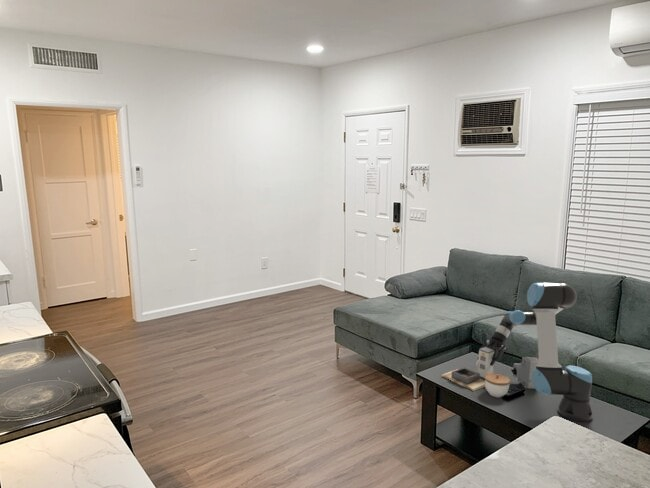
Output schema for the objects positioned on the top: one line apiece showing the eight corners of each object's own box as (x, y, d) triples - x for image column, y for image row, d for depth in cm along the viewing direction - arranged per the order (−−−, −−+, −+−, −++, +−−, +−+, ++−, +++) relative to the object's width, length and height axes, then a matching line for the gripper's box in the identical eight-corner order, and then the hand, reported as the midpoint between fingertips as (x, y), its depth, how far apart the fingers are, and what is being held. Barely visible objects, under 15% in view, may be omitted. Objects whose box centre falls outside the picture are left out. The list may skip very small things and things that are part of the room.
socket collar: (479, 379, 264) (479, 373, 263) (467, 384, 257) (467, 378, 257) (463, 372, 272) (464, 367, 272) (451, 377, 266) (451, 371, 266)
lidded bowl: (514, 398, 245) (515, 378, 244) (493, 401, 241) (495, 381, 240) (498, 387, 257) (499, 368, 255) (478, 390, 253) (480, 371, 252)
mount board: (489, 384, 260) (489, 382, 260) (473, 391, 252) (473, 389, 252) (457, 370, 278) (457, 369, 278) (441, 376, 270) (441, 374, 270)
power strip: (492, 376, 271) (494, 350, 269) (485, 379, 268) (487, 352, 265) (483, 372, 276) (485, 346, 274) (477, 375, 272) (478, 349, 270)
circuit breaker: (509, 381, 265) (511, 356, 262) (534, 382, 264) (537, 357, 262) (513, 387, 257) (516, 361, 255) (540, 388, 257) (542, 362, 254)
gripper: (517, 343, 270) (498, 376, 263) (489, 333, 285) (470, 365, 278) (513, 336, 266) (493, 369, 259) (484, 326, 282) (465, 358, 275)
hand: (481, 367), depth 269 cm, fingers closed on power strip, 6 cm apart
